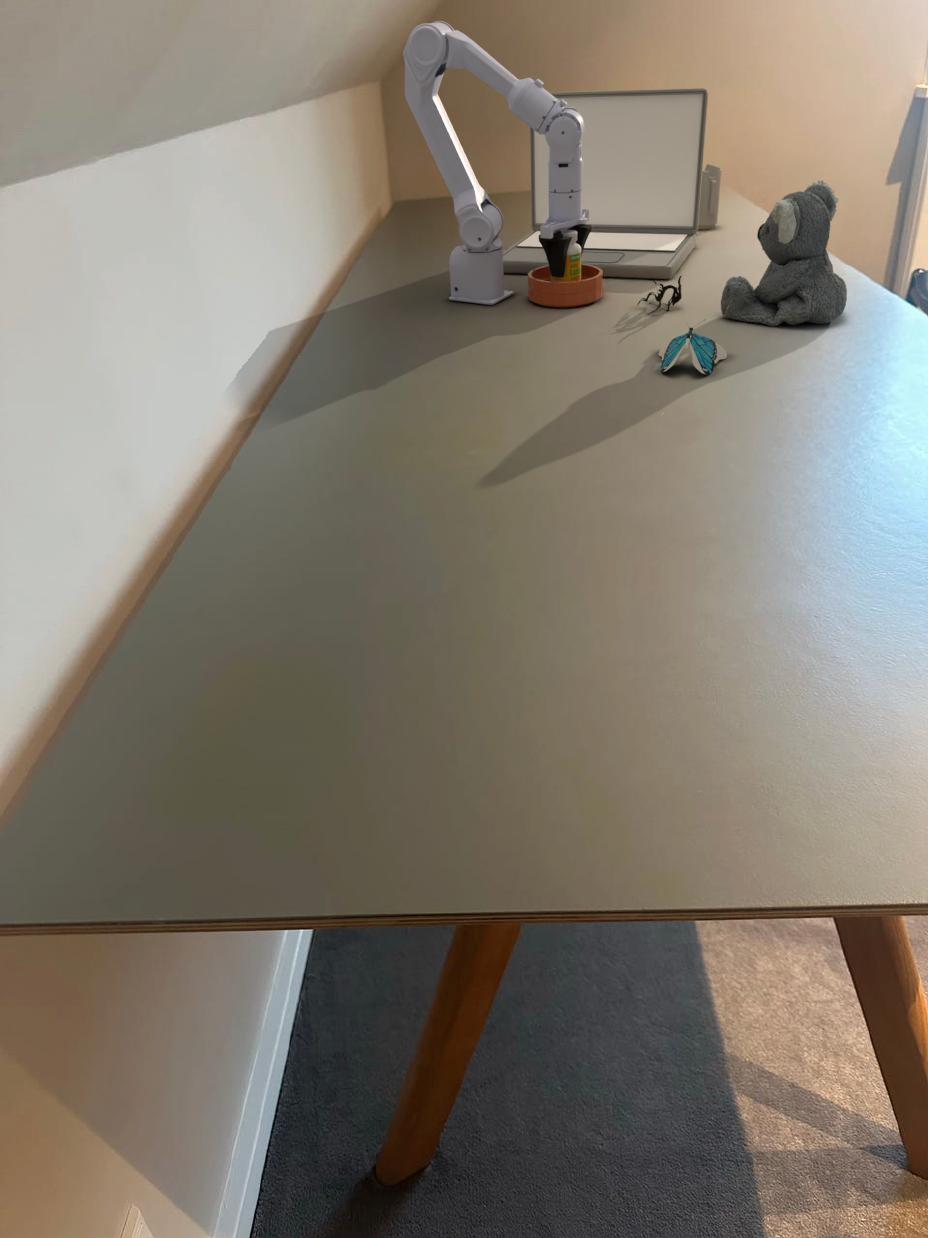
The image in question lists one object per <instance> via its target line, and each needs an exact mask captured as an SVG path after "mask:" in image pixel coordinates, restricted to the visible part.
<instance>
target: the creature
mask: <svg viewBox="0 0 928 1238" xmlns="http://www.w3.org/2000/svg"><path fill="white" fill-rule="evenodd" d="M682 277H683V276H682V275H680V276H679V277H678V279H677V285H678V286H677V287H676V286H675V285H672V284H668V285H664V284H663V283H657V282H656V281H655V280H654V279H652V281H653V282H654V284H655V285H658V287H659V289H658V288H657V286H655V287H656V289H657V294H656V293H655V292H653V291H651V292H649V293H648V294H647V295H646V297H642V298H641V299H640V300H638V302H637V305H636V306H639V305H640V303H641V302H642V301H643V302H644V303H645V302H646V303H647V302H648V301H649V299H650V297H651V296H652V295H653V296H654V298H653V299H652V301H653V300H656V302H658V304H656V303H654V306H655V307H656V308H655V309H654V310H651V312H648V313H647V315H650V314H652V313H654V312H656V311H660V312H661V311H662V310H658V309H660V308H661V305H665V306H666V307H667V309H663V311H665V312H669V311H670V308H671V307H670V306H671V305H672V307H674V306H675V305H676V304H677V303H679V302H680V301H681V299H682V295H683V294H682V283H681V279H682ZM668 289H672V290H673V293H672V295H671V297H670V299H669V300H668V301H667V303H662V300H663V298H664V297H665V296H664V295H665V293H666V291H667V290H668ZM648 303H649V304H650V305H653V303H651V302H648Z"/></svg>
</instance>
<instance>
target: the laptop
mask: <svg viewBox="0 0 928 1238" xmlns="http://www.w3.org/2000/svg"><path fill="white" fill-rule="evenodd" d="M548 92H549V93H550V94H551V95H553V96H554V97H555V98H556V99H558V100H559V101H560V102H561V100H562V99H563V100H564V101H565V102H567V105H566V106H565V108H566V107H572V108H575V109H576V110H577V112H578V113H579V114H580V115H581V116H582V118H583V121H584V126H585V127H584V134H583V136H582V138H581V140H580V142H579V143H582V156H581V157H582V160H583V174H582V209H588V210H589V221H588V222H587V223H585V224H587V225H591V232H590V233H589V235H588V238H587V240H586V242H585V245H584V249H583V253H582V257H581V264H587V265H592V266H596V267H598V268H601V270H602V271H603V278H628V279H649V280H651V279H652V280H654V279H656V280H670V279H672V278H673V276H674V275H675V274H676V272H677V271H678V270H679V269H680V267H681V266H682V265H683V263H684V262H685V260H686V259H687V258H688V256H689V255H690V254H691V252H692V251H693V250H694V248H696V242H697V241H696V239H697V237H696V234H697V232H698V230H699V229H698V221H699V208H700V195H701V182H702V171H703V169H704V168H703V167H704V155H705V144H706V143H705V141H706V127H707V118H708V117H707V115H708V104H709V103H708V101H709V91H708V89H707V88H704V87H695V88H694V87H693V88H691V87H690V88H661V89H660V88H659V89H624V90H591V91H589V90H588V91H587V90H586V91H555V92H551V91H548ZM529 136H530V137H529V138H530V139H529V140H530V142H529V144H530V146H529V147H530V197H531V198H530V201H531V203H530V204H531V205H530V207H531V208H530V209H531V229H532V231H530V232H529V233H527V234H526V235H524V236H523V237H522V238H521V239H519V240H517V241H516V242H514V243H513V244H512V245H510V246H509V247H508V248H506V249H505V250H503V272H504V274H523V275H524V274H525V275H528V273H529V272H530V271H531V270H533V269H535V268H539V267H542V266H547V265H549V263H548V260H547V256H546V253H545V251H544V249H543V247H542V245H541V243H540V242H539V235H540V226H542V225H544V223H545V222H546V220H547V219H548V218H549V165H548V162H549V145H548V144H547V141H546V138H545V135H544V134H539V133H538V132H536V131H535V130H534V129H532V128H531V127H530V126H529Z"/></svg>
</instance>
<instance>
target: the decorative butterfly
mask: <svg viewBox="0 0 928 1238" xmlns="http://www.w3.org/2000/svg"><path fill="white" fill-rule="evenodd" d="M706 320H707V319H705V318H704V319H703V320H702V321H700V322H699V323H697V325H699V324H700V323H702V322H703V321H706ZM686 324H687V323H686ZM697 325H695V326H693V327H691V326H690V327H688V332H686V333H684V334H681V335H678V336H676V337H675V338H673V339H671V340H670V341H668V342H667V343H666V344H664V345H663V346H662V347H661V348H660V349H659V351H658V356H659V357H661V361H662V363H661V365H660V372H661V373H664V372H667V371H668V370H669V369H671V368H672V367H673V366H674V365H675V363H676V362H677V361H678V359H679V357H680V354H681V353H682V352H683V350H687V348H688V347H689V349H690V352H691V353H690V354H691V362H692V364H693V366H694V368H695V369H696V370H697V371H698V372H700V373H701V374H703V375H706V376H709V375H710V374H712V373H713V371H714V364H717V363H718V362H719V361H720V360H725V359H727V358H728V353H727V351H726V349H725V348H724V347H723V346H722V345H720V344H719V343H717V342H715V341H714V340H713V339H711V338H709V337H706V336H702V335H700V334H698V333H694V332H693V331H694V328H695V327H696V326H697ZM687 326H689V325H688V324H687ZM684 348H685V349H684Z"/></svg>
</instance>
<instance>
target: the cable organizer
mask: <svg viewBox="0 0 928 1238" xmlns="http://www.w3.org/2000/svg"><path fill="white" fill-rule="evenodd" d="M722 172H723V168H722V167H719V166H715V165H713V164H710V163H706V166H705V168H704V170H702V182H701V195H700V208H699V221H698V230H709V229H712V228H714V227H715V226H716V225H717V223H718V222H719V221H718V219H719V207H720V198H721V197H720V196H721V187H722V185H721V184H722Z"/></svg>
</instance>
